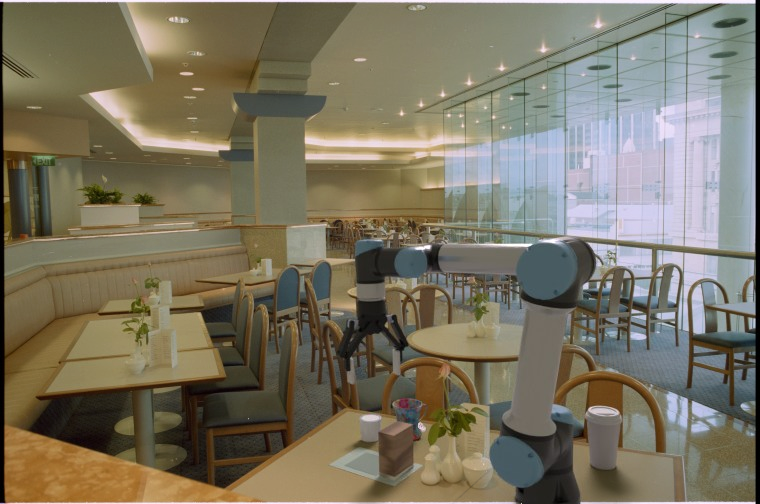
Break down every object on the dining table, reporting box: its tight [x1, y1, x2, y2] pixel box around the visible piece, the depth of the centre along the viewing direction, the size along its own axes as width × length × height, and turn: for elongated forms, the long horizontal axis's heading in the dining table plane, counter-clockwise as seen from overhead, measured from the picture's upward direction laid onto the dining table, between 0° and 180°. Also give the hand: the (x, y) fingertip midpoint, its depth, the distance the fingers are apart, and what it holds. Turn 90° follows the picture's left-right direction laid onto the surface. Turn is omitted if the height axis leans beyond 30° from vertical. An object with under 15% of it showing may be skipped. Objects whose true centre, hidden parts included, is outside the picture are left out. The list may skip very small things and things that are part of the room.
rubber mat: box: [328, 446, 424, 487], centre depth 162 cm, size 22×14×1 cm, turn 54°
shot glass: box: [358, 413, 382, 443], centre depth 180 cm, size 7×7×7 cm
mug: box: [392, 398, 428, 441], centre depth 181 cm, size 12×9×11 cm
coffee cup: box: [584, 405, 623, 471], centre depth 160 cm, size 10×10×15 cm
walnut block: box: [378, 420, 415, 481], centre depth 157 cm, size 5×9×12 cm, turn 144°
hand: (374, 378), depth 155 cm, fingers open, 13 cm apart
